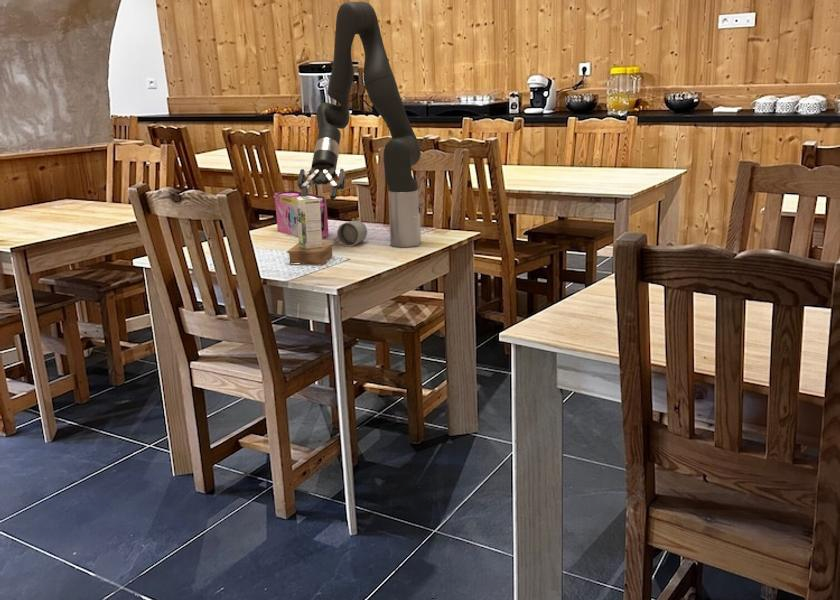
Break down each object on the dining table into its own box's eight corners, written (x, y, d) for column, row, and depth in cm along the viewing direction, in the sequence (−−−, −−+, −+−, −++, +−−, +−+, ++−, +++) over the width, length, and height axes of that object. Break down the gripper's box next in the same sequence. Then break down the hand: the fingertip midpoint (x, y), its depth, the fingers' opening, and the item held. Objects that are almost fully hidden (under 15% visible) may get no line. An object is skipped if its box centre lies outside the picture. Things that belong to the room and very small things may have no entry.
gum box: (331, 237, 262) (329, 197, 258) (311, 241, 257) (308, 200, 253) (296, 228, 280) (293, 190, 276) (276, 231, 275) (273, 192, 271)
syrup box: (298, 246, 231) (294, 197, 227) (317, 243, 233) (314, 195, 229) (303, 249, 226) (300, 200, 222) (323, 247, 228) (320, 198, 224)
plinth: (334, 256, 235) (333, 243, 234) (324, 264, 225) (323, 251, 224) (299, 255, 237) (298, 242, 236) (288, 264, 227) (287, 251, 225)
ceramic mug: (369, 241, 253) (367, 218, 251) (359, 247, 246) (357, 223, 244) (339, 241, 257) (337, 217, 255) (328, 246, 249) (327, 222, 247)
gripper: (300, 148, 241) (292, 191, 234) (345, 148, 239) (338, 191, 231) (306, 164, 248) (298, 206, 240) (350, 163, 245) (343, 206, 238)
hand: (318, 198), depth 236 cm, fingers open, 8 cm apart
